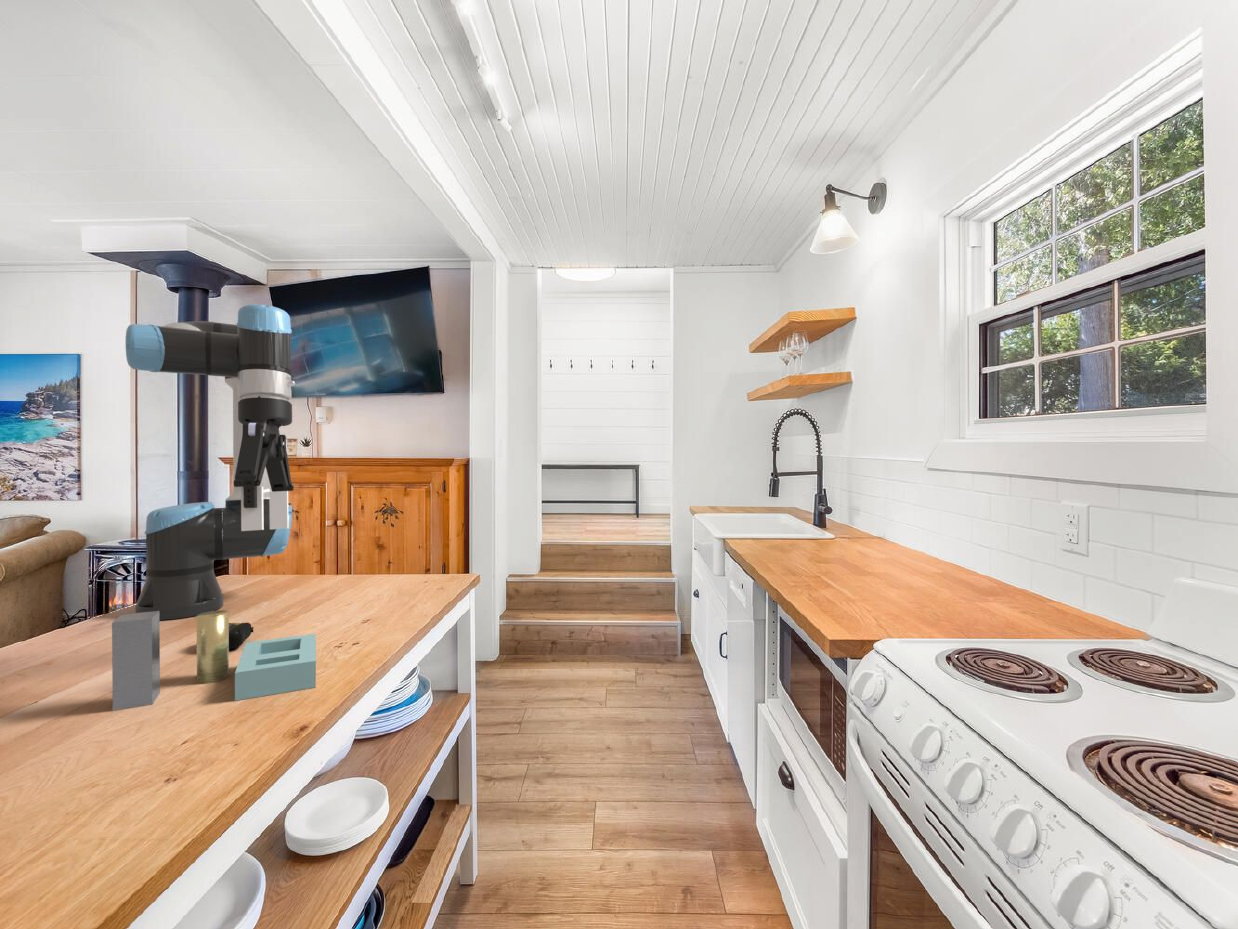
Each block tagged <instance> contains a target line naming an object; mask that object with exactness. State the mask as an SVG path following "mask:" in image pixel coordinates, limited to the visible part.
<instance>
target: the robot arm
mask: <svg viewBox="0 0 1238 929" xmlns="http://www.w3.org/2000/svg"><path fill="white" fill-rule="evenodd" d="M291 328H292V326H291V316H290V315H289V314H288V312H286V310H284V309H281V308H279V307H276V306H272V305H267V304H255V303H254V304H246V305H243V306H241V307H240V308H239V310H238V312H237V322H236V324H232V323H231V324H230V323H223V322H214V321H208V320H207V321H206V320H200V321H199V320H195V321H194V320H193V321H181V322H171V323H168V324H166V325H156V324H141V323H139V324H138V323H134V324H130V325H128V326H127V328H126V332H125V357H126V362H127V365H128V366H129V367H130V368H131V369H133V370H137V371H147V372H151V373H169V374H170V373H171V374H186V375H201V376H203V375H205V376H211V377H213V376H214V377H224V383H225V384H226V385H228V386H229V387H230V388H231V389H232V426H233V427H232V432H233V434H232V435H233V436H232V444H233V445H232V451H233V453H232V454H233V455H232V456H233V457H232V458H233V459H232V460H233V461H232V464H233V468H232V471H233V473H232V474H233V475H232V476H233V486H232V487H233V490H232V493H231V494H230V495H229V496H228V497H227V498H225V502H224V503H225V505H224V507H215V504H214V503H213V501H201V502H192V503H191V502H190V503H184V504H176V505H171V506H166V507H162V508H157V509H153V510H152V511H150V512H149V513H148V514H147V516H146V523H145V531H144V535H145V538H146V539H145V541H146V542H145V545H146V546H145V548H146V550H145V551H146V552H145V553H146V554H145V559H146V560H145V569H146V570H145V575H146V576H145V577H146V578H145V581H144V583H143V586H142V589H141V591H140V595H139V596H138V599H137V601H136V604H135V608H134V609H135V612H134V613H143V612H153V611H159V621H164V620H176V619H183V618H185V619H186V618H190V617H194V616H196V617H197V615H199V614H201V613H205V612H210V611H218V610H219V609H221V608H223V606H224V593H223V591H222V589H221V587H220V584H219V582H218V579H217V577H216V574H215V571H214V569H215V568H214V567H215V566H214V561H217V560H230V559H232V560H233V559H241V558H242V559H243V558H255V557H262V558H263V557H266V556H274V555H280V554H282V553H283V552H285V550H286V548H287V546H288V543H289V539H290V534H291V533H290V532H291V527H292V520H293V519H292V518H293V516H292V515H293V513H292V512H293V507H292V506H291V505H290V504H289V492H293V491H294V485H293V483H292V478H291V472H290V465H289V464H290V463H289V458H288V457H289V456H288V451H287V436H286V434H280V427H286V426H290V425H291V424H292V423H293V404H292V403H291V402H290V400H291V399H292V396H293V395H292V387H294V386H296V382H295V381H294V380H292V370H291V369H292V334H293V330H292V329H291Z"/></svg>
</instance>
